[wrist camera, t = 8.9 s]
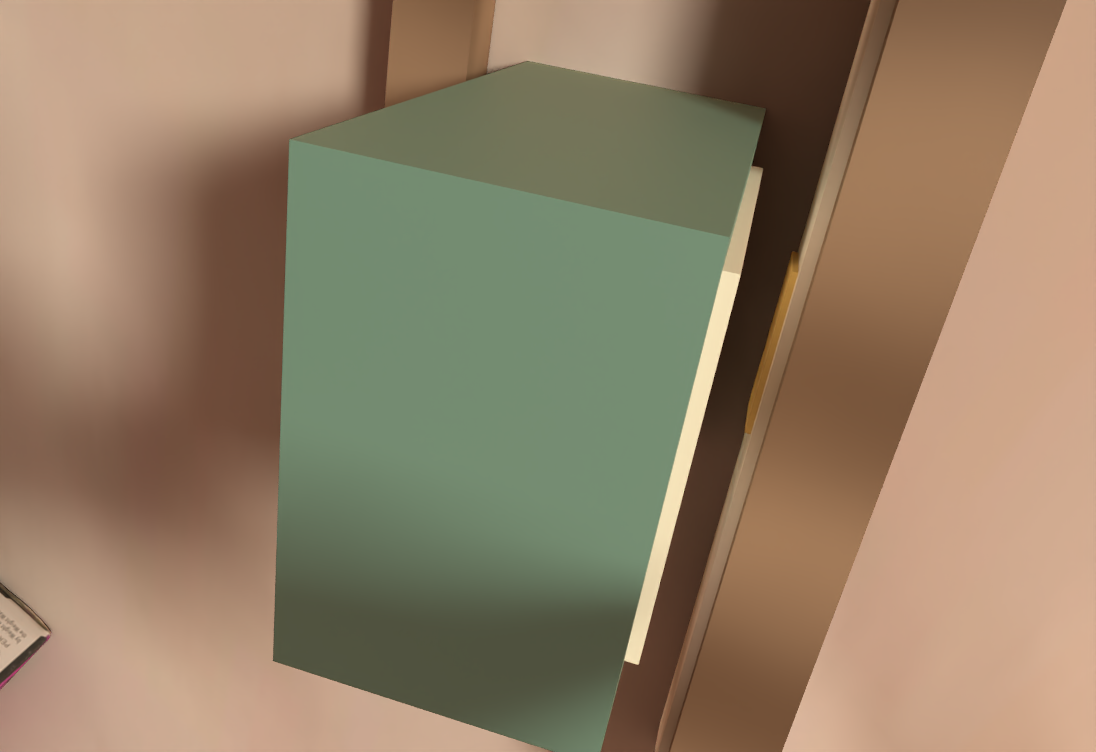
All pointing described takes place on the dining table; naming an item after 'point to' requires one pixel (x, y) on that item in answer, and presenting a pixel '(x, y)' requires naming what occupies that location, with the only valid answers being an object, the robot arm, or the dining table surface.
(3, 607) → the candy bar box
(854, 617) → the dining table surface
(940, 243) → the shelf slot
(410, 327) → the tea box
